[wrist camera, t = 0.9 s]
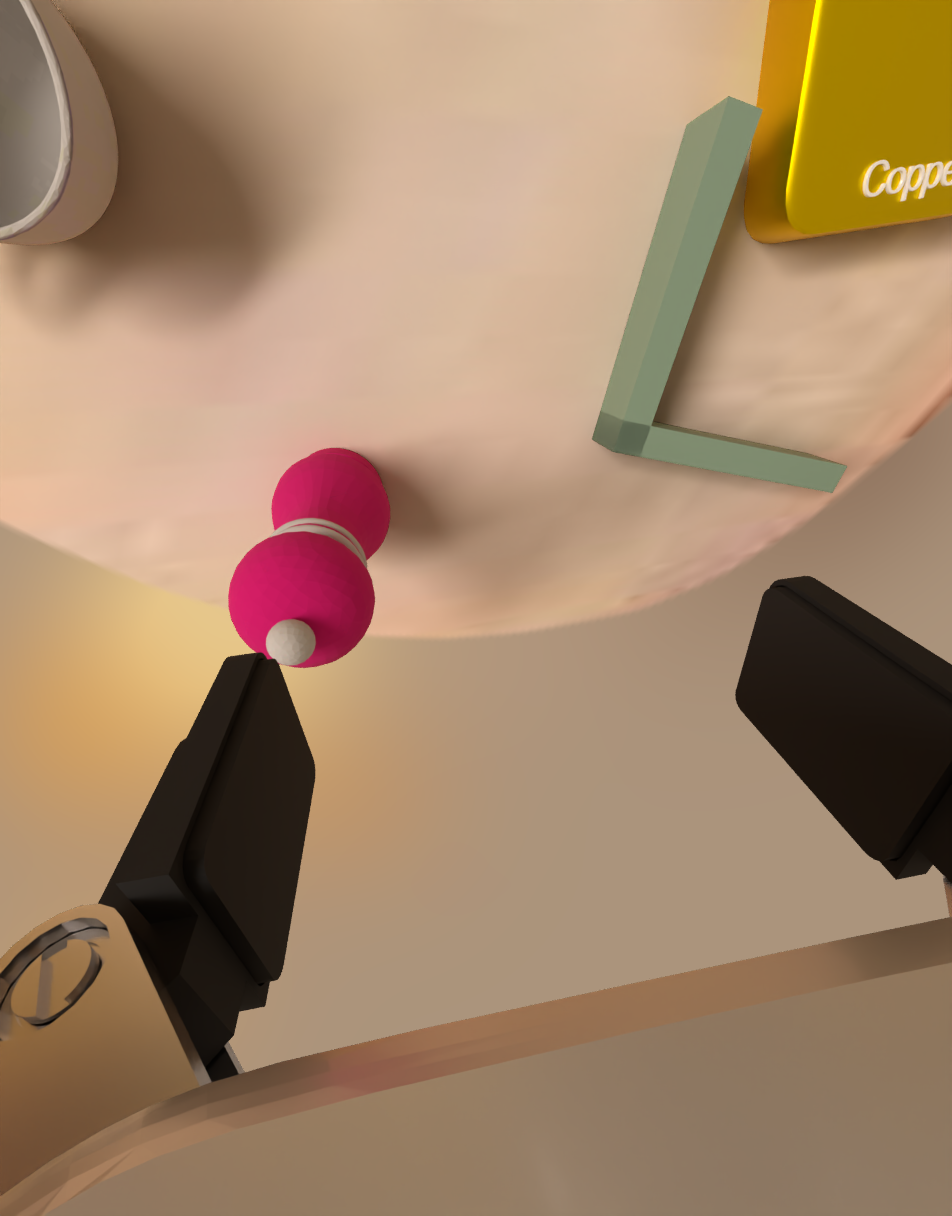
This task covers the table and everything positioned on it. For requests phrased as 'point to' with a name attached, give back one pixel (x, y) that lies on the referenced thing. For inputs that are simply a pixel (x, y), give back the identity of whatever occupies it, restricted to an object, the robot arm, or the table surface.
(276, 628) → the pepper mill
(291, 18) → the table surface
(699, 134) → the corner stop
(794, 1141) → the robot arm
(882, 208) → the element tile
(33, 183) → the teacup
